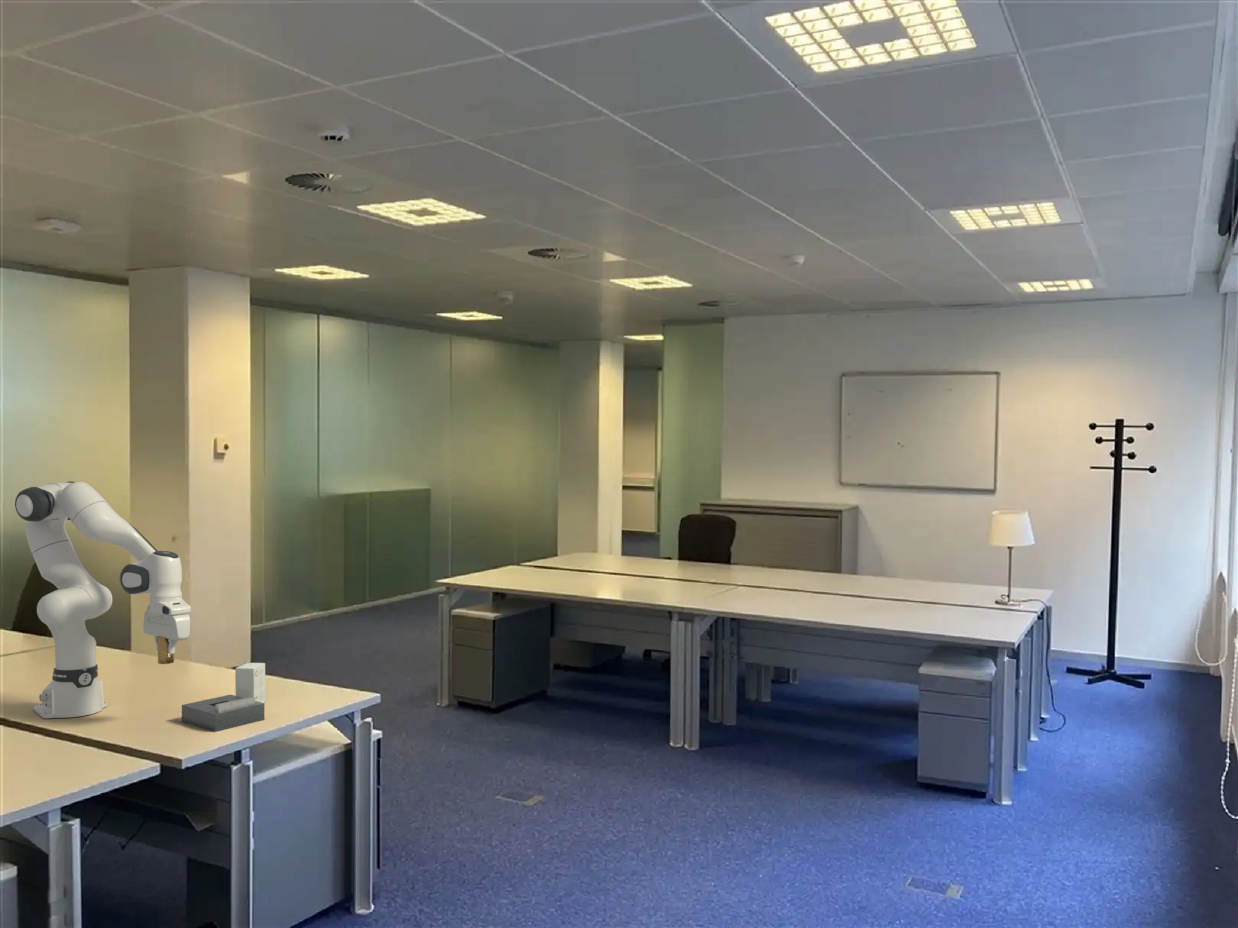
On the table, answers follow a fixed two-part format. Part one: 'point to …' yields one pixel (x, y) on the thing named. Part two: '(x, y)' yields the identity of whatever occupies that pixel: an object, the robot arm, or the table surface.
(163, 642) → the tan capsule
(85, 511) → the robot arm
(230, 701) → the jig
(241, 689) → the small box
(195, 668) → the table surface
